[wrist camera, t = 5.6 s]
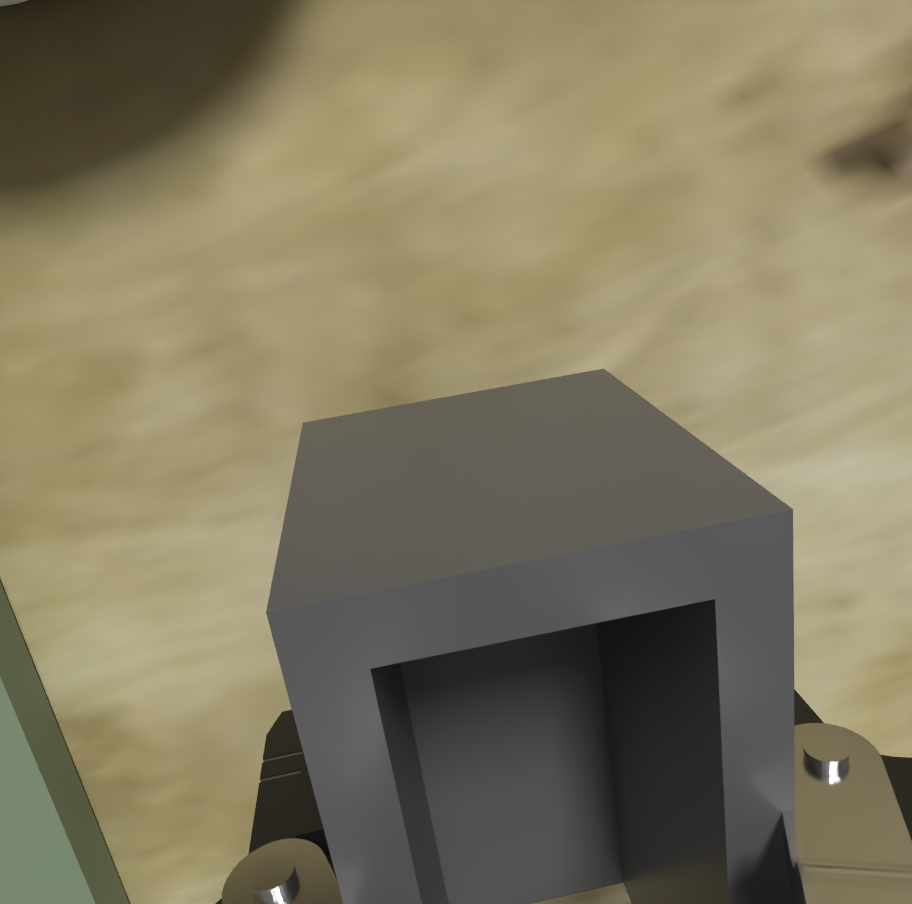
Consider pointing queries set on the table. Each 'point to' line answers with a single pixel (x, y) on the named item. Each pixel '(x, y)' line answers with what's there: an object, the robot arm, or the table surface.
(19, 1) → the lid
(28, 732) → the chute mount
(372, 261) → the table surface
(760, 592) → the chute
